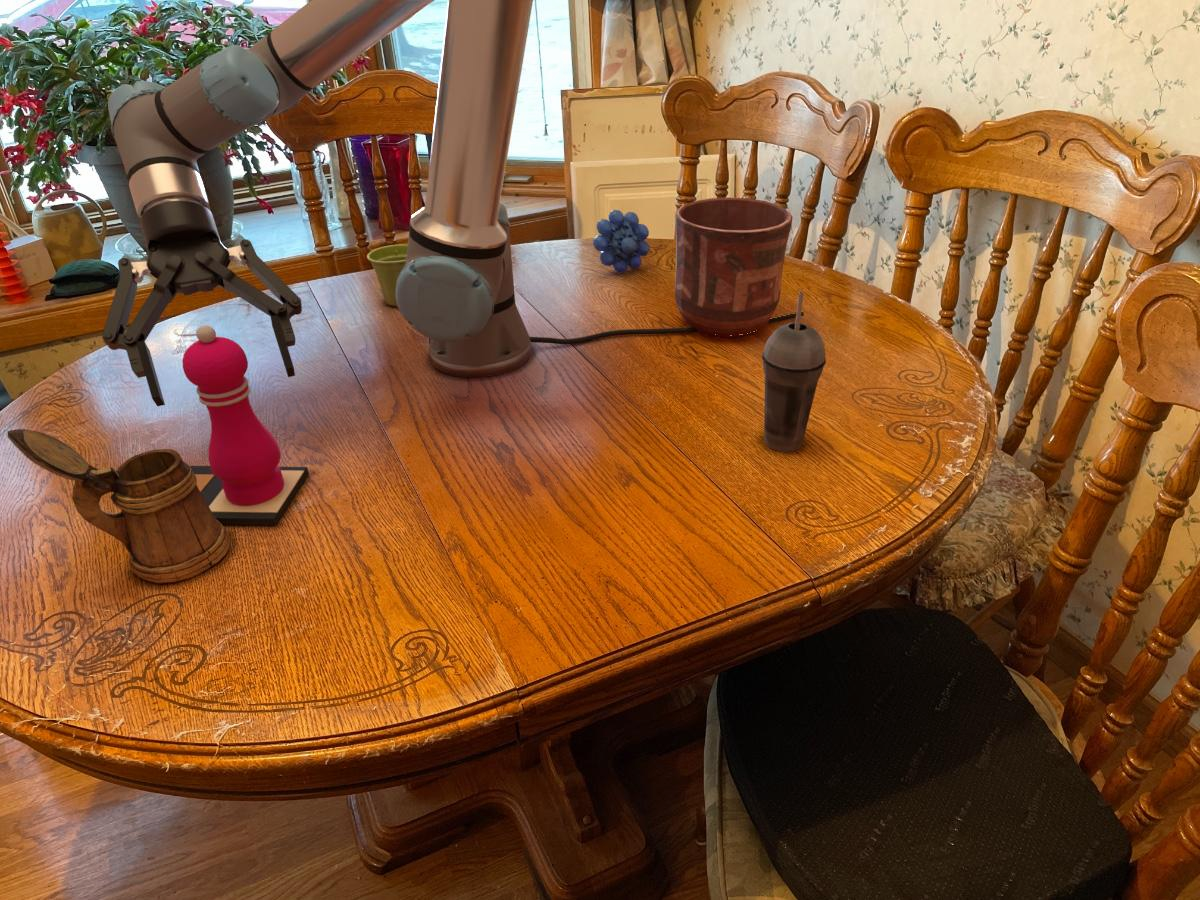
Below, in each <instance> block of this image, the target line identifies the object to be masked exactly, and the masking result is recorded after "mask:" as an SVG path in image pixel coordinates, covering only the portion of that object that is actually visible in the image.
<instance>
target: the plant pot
mask: <svg viewBox="0 0 1200 900" xmlns="http://www.w3.org/2000/svg"><path fill="white" fill-rule="evenodd" d="M407 248H408V244H404V243H403V244H401V243H400V244H391V245H386V246H381V247H378V248H375V249H372V250H371V251H369V252H368V253H367V255H366V258H367V261H369V262H370V264H371V266H372V268H373V269H374V271H375V274H376V277H377V280H378V283H379V286H380V289H381V293H382V296H383V298H384V301H385V302H386V304H387V305H389V306H393V307H398V305H397V302H396V294H395V293H396V284H397V278H398V277H399V273H400V272H401V270H402V269H403V268H404V266H405V264H406V257H407Z"/></svg>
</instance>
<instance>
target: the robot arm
mask: <svg viewBox="0 0 1200 900" xmlns="http://www.w3.org/2000/svg"><path fill="white" fill-rule="evenodd" d="M435 1H436V0H310V1H309V2H307V3H306V4H305V5H303V6H302V7H301V8H299V9H298V10H297V11H296V12H294V13H293V14H292V15H291V16H288V18H286V19H285V20H284V21H283V22H282V23H280V24H279V25H278V26H276V27H275V28H274V29H272V30H271V31H270V32H269V33H268V34H266V35H265V36H263V37H262V38H261V39H259V40H258V41H257V42H255V43H253V45H252V46H250V47H249V48H247V49H246V48H244V46H241V45H238V44H233V45H228V46H226V47H225V48H223V49H221V50H219V51H217V52H215V53H213V54H209V55H208V56H206V57H205V58H204V60H203V61H202V62H201V63H199V64H197V65H196V66H195V67H193V68H192V69H190V70H189V71H187V72H186V73H185V74H183V75H182V76H181V77H179V78H177V79H176V80H175V81H173V82H172V83H170V84H169V85H167V86H164V85H162V84H159V83H156V82H153V81H149V80H148V81H147V80H137V81H135V82H134V83H133V84H128V83H123V84H121V85H119V86H118V87H116V88H115V89H114V90H113V91H112V92H111V94H110V95H109V97H108V101H107V107H108V114H109V120H110V124H111V125H110V127H111V129H110V130H111V134H112V136H113V139H114V141H115V143H116V146H117V149H118V152H119V155H120V158H121V161H122V164H123V167H124V170H125V174H126V177H127V182H128V188H129V191H130V194H131V199H132V201H133V205H134V208H135V211H136V214H137V217H138V218H139V225H140V228H141V232H142V235H143V239H144V243H145V246H146V250H147V252H148V255H147V256H148V257H147V260H143V261H142V260H141V261H131V259H129V258H127V257H121V258H120V259H118V262H117V265H118V272H119V273H118V275H119V279H118V283H117V286H116V289H115V291H114V292H115V293H114V295H113V299H112V302H111V305H110V308H109V311H108V315H107V318H106V320H105V324H104V328H103V331H102V334H101V338H102V340H103V341H104V343H105V344H106V346H107V347H108V349H110V350H112V351H117V350H124V351H126V353H127V356H128V361H129V365H130V368H131V371H132V372H133V374H134V375H135V376H136V378H137V379H140V378H145V379H146V382H147V385H148V389H149V392H150V396H151V400H152V401H153V403H154V404H155V405H156V407H162V406H166V403H165V399H164V397H163V393H162V389H161V386H160V382H159V378H158V375H157V371H156V368H155V365H154V361H153V358H152V354H151V351H150V349H149V347H148V345H147V343H146V341H147V339H148V337H149V336H150V334H151V332H152V331H153V329H154V327H155V326H156V324H157V323H158V321H159V320H160V318H161V316H162V315H163V313H164V312H165V310H166V308H167V307H168V305H170V304H171V303H172V302H173V300H174V299H175V297H176V295H177V294H180V295H183V296H190V295H193V294H196V293H198V292H200V293H203V292H204V293H207V292H214V291H215V290H214V289H216V288H217V287H218V286H219V287H220V288H221V289H224V290H225V291H226V292H228V293H232V294H234V295H235V296H237V297H238V298H240V299H242V300H243V301H245V302H247V303H248V304H250V305H251V306H252V307H254V308H256V309H258V310H259V311H261V312H262V313H264V314H265V315H267V316H268V317H270V322H271V327H272V330H273V333H274V336H275V340H276V344H277V346H278V349H279V353H280V356H281V359H282V362H283V366H284V369H285V373H286V375H287V378H292V377H295V376H296V373H295V367H294V363H293V360H292V357H291V354H290V351H289V347H293V346H296V335H295V332H294V328H293V326H292V323H291V318H292V317H294V316H295V315H297V316H298V315H300V314H302V312H303V307H302V299H301V298H300V296H299V295H297V293H295V292H294V291H293V290H292V289H291V287H289V286H288V284H286V283H285V281H283V280H282V279H281V277H280V276H279V275H278V274H276V272H274V270H272V268H270V267H269V265H267V264H266V263H265V261H263V260H262V259H261V258H260V256H258V254H257V252H256V250H255V247H254V246H253V244H252V242H251V240H249V239H248V238H247V239H246V238H245V239H241V241H240V242H239V245H235V246H232V247H225V246H224V244H223V243H222V242H221V238H220V235H219V234H220V233H219V232H218V227H217V225H216V222H215V221H216V220H215V219H214V215H213V213H212V211H211V206H210V201H209V199H208V195H207V192H206V189H205V185H204V182H203V179H202V177H201V172H200V169H199V165H198V162H197V161H198V159H199V158H201V157H202V156H204V155H206V154H208V153H210V152H211V151H213V150H214V149H215V148H217V147H218V146H221V145H222V144H223V143H225V142H228V141H229V140H231V139H232V138H234V137H235V136H238V135H239V134H241V133H242V132H244V131H246V130H248V129H250V128H252V127H254V126H256V125H258V124H261V123H262V122H265V121H267V120H268V119H270V118H272V117H274V116H277V115H279V114H284V113H286V112H289V110H291V109H292V108H294V107H295V106H297V105H298V104H299V102H300V101H302V99H303V98H304V97H305V96H307V95H308V94H309V93H310V92H312V91H313V90H314V89H315V88H317V87H318V86H319V85H321V84H322V83H323V82H324V81H326V80H328V79H329V78H330V77H332V76H333V75H335V74H336V73H337V72H339V71H340V70H342V69H343V68H344V67H346V66H347V65H348V64H350V63H351V62H352V61H354V60H355V59H357V58H358V57H360V56H361V55H362V54H363V53H365V52H366V51H368V50H369V49H371V48H372V47H373V46H375V45H376V44H377V43H378V42H380V41H381V40H383V39H384V38H386V37H387V36H389V35H390V34H391V33H392V32H394V31H395V30H397V29H398V28H399V27H400V26H402V25H403V24H405V23H406V22H407V21H409V20H410V19H411V18H414V17H415V16H416V15H417V14H418V13H420V12H422V10H424V9H426V8H427V7H428V6H430V5H431V4H432V3H433V2H435ZM533 2H534V0H447V7H446V8H447V9H446V16H445V25H444V34H443V41H442V53H441V60H440V70H439V80H438V88H437V96H436V98H437V99H436V105H435V114H434V123H433V132H432V142H431V150H430V159H429V167H428V175H427V176H428V177H427V186H426V195H425V204H424V206H423V207H421V208H420V209H419V210H417V211H416V212H415V213H413V214H412V215H411V217H410V221H409V230H408V238H407V239H408V240H407V245H408V248H407V257H406V264H405V266H404V268H403V269H402V270H401V272H400V273H399V277H398V278H397V284H396V293H395V294H396V302H397V305H398V306H397V308H398V309H399V312H400V314H401V316H402V318H403V319H404V320H405V321H406V322H407V323H408V324H409V325H410V327H411V328H412V329H413V330H414V331H415V332H418V334H420V335H422V336H424V337H426V338H428V345H429V346H428V352H429V358H430V363H431V364H432V366H433V368H435V369H436V370H438V371H440V372H442V373H444V374H447V375H449V376H454V377H459V378H460V377H462V378H486V377H492V376H497V375H502V374H505V373H508V372H511V371H513V370H515V369H517V368H520V367H521V366H523V365H524V364H526V362H527V361H528V360H529V359H530V357H531V355H532V343H541V344H554V345H576V344H582V343H587V342H591V341H596V340H599V339H604V338H609V337H616V336H630V335H667V334H668V335H669V334H670V335H671V334H692V333H693V334H694V333H699V332H698V331H697V330H696V329H695V328H693V327H691V326H690V327H687V326H686V327H669V328H668V327H667V328H666V327H665V328H630V329H629V328H628V329H627V328H626V329H615V330H607V331H602V332H597V333H593V334H588V335H585V336H580V337H573V338H558V337H547V336H546V337H545V336H530V335H529V332H528V330H527V327H526V325H525V323H524V321H523V319H522V316H521V314H520V311H519V309H518V307H517V303H516V296H515V295H516V294H515V284H514V283H515V282H514V281H515V280H514V273H513V260H512V259H513V258H512V248H511V233H510V227H511V222H510V221H509V215H508V210H507V207H506V205H504V204H503V203H502V202H501V198H502V193H503V185H504V179H505V174H506V167H507V162H508V161H507V160H508V155H509V148H510V143H511V137H512V132H513V131H512V130H513V126H514V125H513V124H514V119H515V118H514V117H515V114H516V113H515V112H516V106H517V100H518V93H519V89H520V83H521V82H520V81H521V76H522V70H523V63H524V57H525V51H526V45H527V39H528V34H529V29H530V28H529V27H530V22H531V21H530V20H531V15H532V9H533ZM232 260H234V261H236V262H238V263H239V264H240V265H241V266H245V267H246V266H247V268H248V269H249V271H250V272H251V273H252V274H253V275H254V276H255V277H256V278H257V280H259V282H261V284H262V285H264V286H265V287H266V289H268V291H270V292H271V293H272V294H273V295H274V296H275V297H276V298H277V299H278V300H277V299H275V298H273V297H272V296H270V295H269V294H267V293H266V292H264V291H263V290H260V289H259V288H257V287H256V286H254V285H253V284H251V283H250V282H248V281H246V280H244V279H243V278H242V277H239V276H238V274H236V273H235V272H234V271H233V270H231V269H230V268H229V266H230V263H231V261H232ZM147 274H150V275H151V276H153V277H154V278H155V279H156V280H155V282H154V284H153V288H152V290H151V292H150V293H149V295H148V297H147V298H146V300H145V301H144V302H143V304H142V306H141V308H139V310H138V312H137V314H136V315H135V317H134V318H133V320H132V322H131V323H130V324H129V326H128V323H129V319H130V315H131V313H132V311H133V306H134V302H135V300H136V297H137V293H138V284H141V283H142V282H143V281H144V279H145V276H146V275H147ZM279 301H280V302H279ZM796 312H797V311H796ZM796 312H794V313H795V314H791V313H789V314H790V315H787V314H788V313H786V314H785V315H786V316H782V315H780V316H781V317H777V316H776V317H777V318H772V317H771V318H772V319H770V320H769V321H768V323H767V324H766V325H768V324H773V323H777V322H778V323H779V322H783V321H787V320H791V319H796ZM804 315H805V314H804V311H803V312H801V317H804ZM127 326H128V327H127Z"/></svg>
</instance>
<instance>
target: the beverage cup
mask: <svg viewBox="0 0 1200 900" xmlns="http://www.w3.org/2000/svg"><path fill="white" fill-rule="evenodd" d="M804 294H805V293H804V291H803V290H800V291H798V295H797V296H798V297H797V305H796V312H797V313H796V318H795V322H789V323H786V324H783V325H781V326H779V327H778V328H777V329H775V330H774V331H773V332H772V333H771V335H770V336H769V337H768V339H767V340H766V342H765V345H764V348H763V351H762V353H761V360H762V368H763V374H764V411H763V412H764V417H763V418H764V420H763V421H764V423H763V425H764V426H763V432H764V443H765V445H766V446H767V447H768V448H769V449H772V450H774V451H776V452H782V453H783V452H784V453H790V452H794V451H797V450H799V449H800V448H801V447H802V445H803V441H804V437H805V435H806V431H807V427H808V423H809V420H810V414H811V411H812V407H813V403H814V399H815V395H816V390H817V387H818V383H819V379H820V378H821V376H822V374H823V370H824V367H825V366H826V364H827V360H826V359H827V358H826V347H825V342H824V340H823V338H822V336H821V335H820V334H819V332H818V331H817V330H816V329H814V327H812V326H811V325H808V324H806V323H803V322H801V319H802V316H801V311H803V310H802V309H803V302H804Z"/></svg>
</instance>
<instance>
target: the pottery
mask: <svg viewBox="0 0 1200 900" xmlns="http://www.w3.org/2000/svg"><path fill="white" fill-rule="evenodd" d="M674 213H675V216H674V223H675V224H674V226H675V255H676V256H675V259H676V260H675V278H674V299H675V304H676V308H677V310H678V312H679V314H680V316H681V318H682V319H683V320H684V322H686V323H687V324H688V325H689V326H690V327H693V328H695V329H696V330H697V331H698V332H697V333H699V334H701V335H703V336H706V337H709V338H714V339H720V340H722V339H724V340H735V339H743V338H747V337H749V336H753V335H754V334H756V333H758V332H759V331H760V330H761V329H762V328H764V327H765V326H766V325H768V324H767V323H768V321H769V320H770V318H772V317H773V316H774V314H775V311H776V310H777V308H778V305H779V303H780V299H781V293H782V292H781V290H782V283H783V281H782V280H783V269H784V263H785V257H786V250H787V245H788V241H789V237H790V233H791V229H792V226H793V225H792V224H793V214H792V213H791V212H790V211H789V210H787V209H786V208H784V207H783V206H782V205H780V204H776V203H774V202H773V203H772V202H770V201H767V200H761V199H755V198H749V197H747V198H746V197H727V196H725V197H712V198H711V197H710V198H704V199H699V200H693V201H691V202H689V203H686V204H683V205H682V206H680V207H678V209H677V210H676V211H675V212H674ZM756 330H757V331H756ZM753 331H755V332H753ZM750 332H751V333H750ZM747 333H748V334H747ZM715 334H716V335H715ZM739 334H743V335H739ZM730 335H732V336H730Z"/></svg>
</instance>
